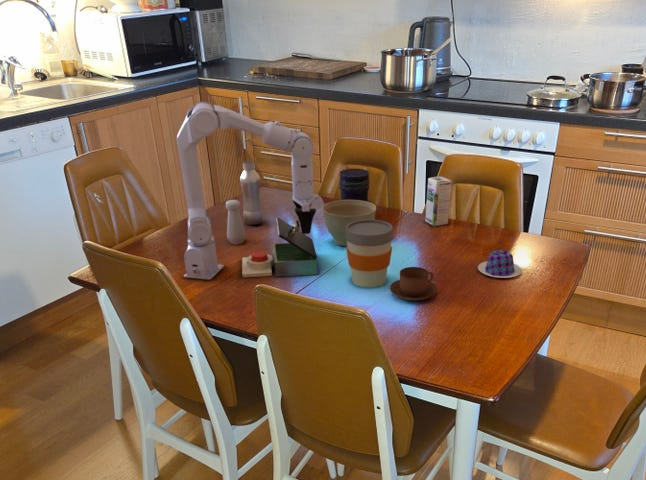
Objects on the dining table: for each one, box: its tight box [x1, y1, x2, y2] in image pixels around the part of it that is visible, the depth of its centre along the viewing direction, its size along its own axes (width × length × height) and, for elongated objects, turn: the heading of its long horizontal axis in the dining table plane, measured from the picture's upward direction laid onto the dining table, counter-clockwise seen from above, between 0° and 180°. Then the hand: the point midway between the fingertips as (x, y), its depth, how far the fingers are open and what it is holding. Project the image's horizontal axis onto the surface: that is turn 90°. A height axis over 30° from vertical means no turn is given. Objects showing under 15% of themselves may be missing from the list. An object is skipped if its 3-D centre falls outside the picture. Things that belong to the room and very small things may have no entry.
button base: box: [241, 253, 274, 278], centre depth 181 cm, size 9×12×3 cm
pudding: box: [477, 249, 523, 279], centre depth 177 cm, size 12×12×5 cm
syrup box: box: [424, 176, 452, 227], centre depth 209 cm, size 6×6×14 cm
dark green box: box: [272, 242, 318, 278], centre depth 181 cm, size 11×14×4 cm
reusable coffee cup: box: [345, 219, 394, 289], centre depth 170 cm, size 13×13×15 cm
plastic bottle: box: [239, 160, 264, 226], centre depth 208 cm, size 6×7×20 cm
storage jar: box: [338, 168, 370, 203], centre depth 214 cm, size 10×10×15 cm
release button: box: [250, 250, 268, 262], centre depth 180 cm, size 4×4×2 cm
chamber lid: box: [275, 216, 318, 260], centre depth 178 cm, size 12×14×4 cm
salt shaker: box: [225, 199, 247, 245], centre depth 195 cm, size 6×6×13 cm
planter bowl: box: [322, 199, 377, 247], centre depth 195 cm, size 16×16×11 cm
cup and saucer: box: [389, 266, 438, 302], centre depth 164 cm, size 12×12×6 cm
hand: (305, 228), depth 180 cm, fingers open, 7 cm apart
